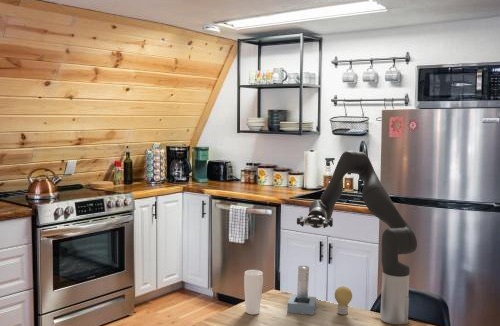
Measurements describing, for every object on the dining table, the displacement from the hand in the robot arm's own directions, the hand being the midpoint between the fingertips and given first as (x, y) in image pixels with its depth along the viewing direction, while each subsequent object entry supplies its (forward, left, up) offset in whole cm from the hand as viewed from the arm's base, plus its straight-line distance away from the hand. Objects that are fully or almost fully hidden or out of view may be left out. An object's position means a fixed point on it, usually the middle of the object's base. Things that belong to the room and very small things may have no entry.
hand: (313, 224), depth 202 cm
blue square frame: (+2, +11, -30) cm, 32 cm away
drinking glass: (+19, +20, -30) cm, 41 cm away
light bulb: (-13, +11, -30) cm, 35 cm away
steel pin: (+2, +11, -30) cm, 32 cm away
